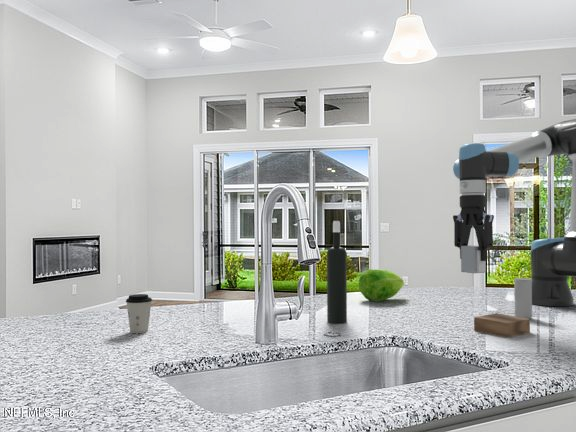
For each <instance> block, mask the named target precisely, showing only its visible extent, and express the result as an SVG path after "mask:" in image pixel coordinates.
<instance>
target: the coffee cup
mask: <svg viewBox="0 0 576 432" xmlns="http://www.w3.org/2000/svg"><path fill="white" fill-rule="evenodd" d="M152 301H153V299H152V297H150V296H149V294H145V293H142V294H141V293H140V294H139V293H137V294H130V295H128V298H126V300H125V302H126V308H127V316H128V317H127V318H128V326H129V331H130V332H131V333H130V332H129V333H130V334H132V333H136V334H135V335H139V334H138V333H142V334H147V333H148V331H149V326H150V325H149V323H150V316H151V308H152ZM146 332H147V333H146Z"/></svg>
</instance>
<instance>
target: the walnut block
mask: <svg viewBox="0 0 576 432" xmlns="http://www.w3.org/2000/svg"><path fill="white" fill-rule="evenodd" d="M473 325H474V326H473V331H475V332H480V333H483V334H484V333H485V334H489V335H493V336H499V337H503V338H512V337H516V336H520V335H525V333H526V334H529V333H531V318H530V319H528V318H522V317H515V315H509V314H508V315H507V314H503V313H491V314H486V315H479V316H473Z"/></svg>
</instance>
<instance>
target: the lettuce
mask: <svg viewBox="0 0 576 432" xmlns="http://www.w3.org/2000/svg"><path fill="white" fill-rule="evenodd" d="M404 286H405V282H404V279H403V278H401V276H399V275H398V274H396V273H395V272H393V271H391V270H387V269H371V268H369V269H366V270H364V271H363V272H362V273H361V275H360V277H359V279H358V288H359V289H358V290H359V291H360V293H361V294H362V296H363V297H364V298H365V299H366V300H368V301H371V302H376V303H378V302H383V301H385V300H387V299H388V300H389V299H391V298H393V297H394V296H396V295H397V294H398V292H400V290H402V288H403V287H404Z"/></svg>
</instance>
